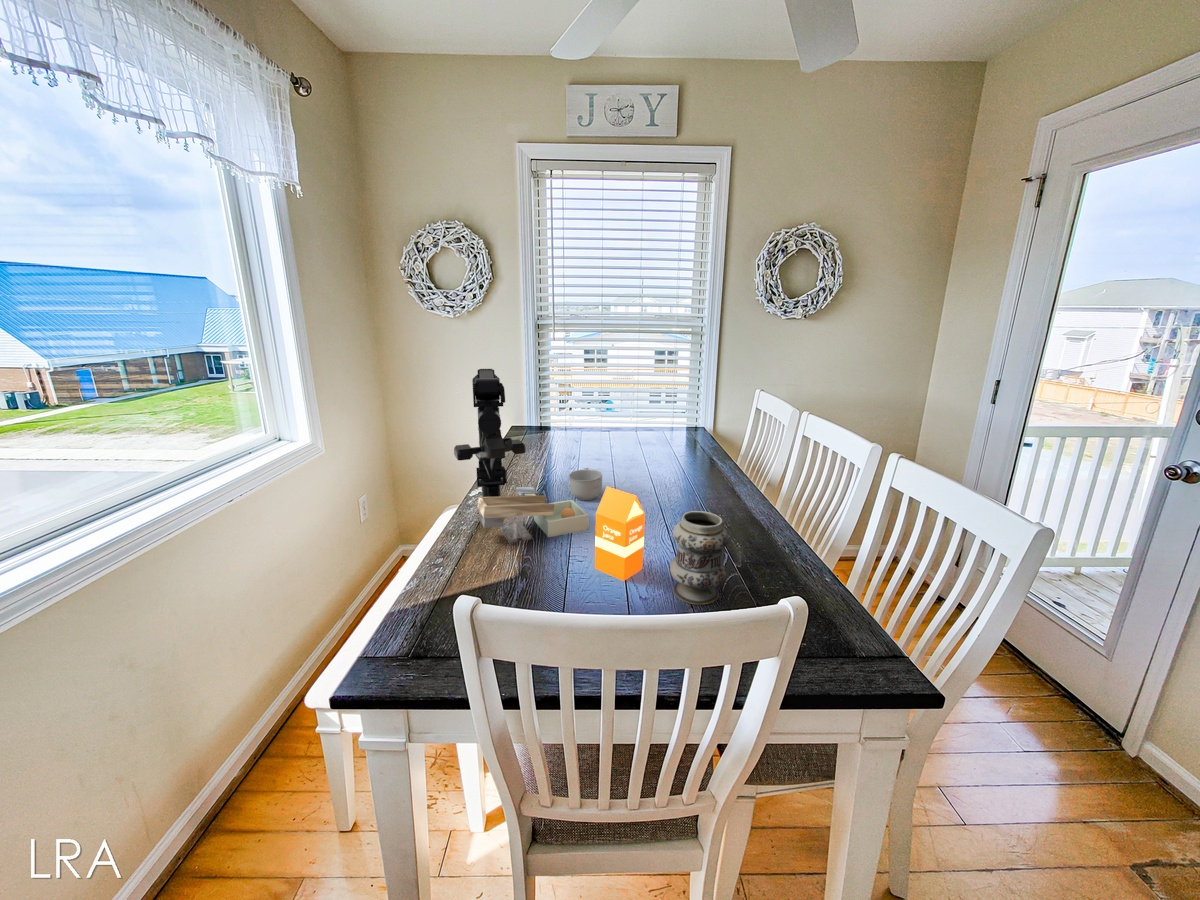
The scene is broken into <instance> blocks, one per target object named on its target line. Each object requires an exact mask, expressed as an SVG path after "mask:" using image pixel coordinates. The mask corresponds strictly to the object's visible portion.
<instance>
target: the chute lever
mask: <svg viewBox="0 0 1200 900" xmlns="http://www.w3.org/2000/svg"><path fill="white" fill-rule="evenodd" d="M515 491H516V493H517V494H518V495H510V496H509V495H507V496H502V495H501V496H498V497H482V496H478V497H477V509H478V511H479V513H478V515H479V516H478V519H479V521H480V524H481V525H482V526H483V528H484V529H485V528H487V529H488V528H499V527H503V524H504V521H505V520H504V519H505V518H507V517H513V518H516V514H519V513H522V514H523V517H534V516H542V515H553V511H554V504H549V503H547V502H546V500H547V496H546V495H545V494H544V495H539V492H537V490H535V488H534V487H532V486H529V487H528V486H527V487H525V486H524V487H515Z"/></svg>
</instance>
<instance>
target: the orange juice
mask: <svg viewBox="0 0 1200 900" xmlns="http://www.w3.org/2000/svg"><path fill="white" fill-rule="evenodd" d="M645 523H646V513H645V511H644V509H643V507H642V504H641V503H640V501H639V499H638V497H637V495H635V494H632V493H631V492H626V491H622V490H620V489H617V488H614V487H610V486H606V487H605V490H604V492H603V494H602V497H601V499H600V502H599V505H598V506H597V509H596V512H595V539H594V542H595V543H594V548H595V549H594V553H595V554H594V569H595V570H598V571H600V572H602V573H604V574H606V575H609V576H611V577H613V578H616V579H618V580H620V581H623V582H625V581H626V580H628V579H629V578H630V577H633V576H634V575H635V574H637V573H638V572H640V571H641V570H643V562H644V560H643V559H644V546H645V526H646V525H645Z"/></svg>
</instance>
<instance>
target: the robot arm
mask: <svg viewBox="0 0 1200 900" xmlns="http://www.w3.org/2000/svg"><path fill="white" fill-rule="evenodd" d="M471 380H472V381H471V382H472V395H473V397H472V398H473V399H472V401H473V408H477V424H478V426H477V428H478V429H477V430H478V440H479V441H478V445H479V446H476V447H471V446H470V444H468V443H467V444H457V445H455V446H454V449H453V455H454V456H455V458H456V460H457V461H468V460H471V459H472V458H473V457H474V455H475V457H476V459H478V467H476V468H475V469H476V484H477V488H479V487H481V494H482V495H481V497H498V496H502V494H501V493H502V492H501V489H502V488H501V486H506V484H507V483H508V480H507V479H508V473H507V472H508V471H507V470H506V468H505V466H504V465H503V461H502V460H503V459H505V458H506V457H507V456H506V453H509V452H512V453H513V454H514V455H521V454H522V455H523V454H526V450H527V447H526V444H525V443H524V442H522V441H521V440H520V439H519V438H517V439H512V437H504V438H503V437H502V431H501V426H502V419H501V415H500V407H504V403H506V392H505V386H504V385H503V382H501V381H500V380H501V379H500V378H499V377H498V375H496V374H495V369H493V368H479V369H477V373H476V375H475V376H474V377H473V378H472V379H471Z"/></svg>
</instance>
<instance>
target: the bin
mask: <svg viewBox="0 0 1200 900" xmlns="http://www.w3.org/2000/svg"><path fill="white" fill-rule="evenodd" d="M548 504H554V511H553V515H542V516H533V521H534V522H535V523H536V525H537V526H538V527H539V528H540V529H541V530H542V532H543V533H544V534H545V535H546V537H547V538H553V537H557V535H558V536H562V535H563V534H564V535H568V533H569V534H573V533H574V534H575V533H579V532H585V531H589V528H590V527H589V525H590V521H589V519H590V518H589V517H590V514H588V513H587V512H586V511H585V510H584V509H583V508H582V507H581V506H580V505H579V504H577V503H576V502H575V501H574V500H573V499H569V500H568V499H567V500H562V501H561V500H560V501H555V502H549V503H548ZM565 508H572V509H573V510H574V512H575V516H573V517H567V518H562V517H561V512H562V510H563V509H565ZM552 536H553V537H552Z"/></svg>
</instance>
